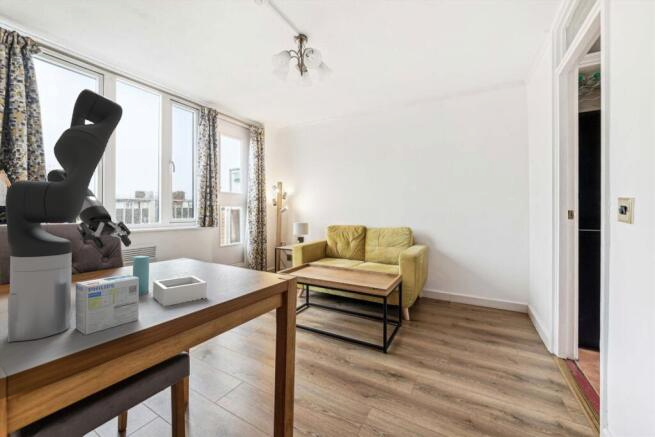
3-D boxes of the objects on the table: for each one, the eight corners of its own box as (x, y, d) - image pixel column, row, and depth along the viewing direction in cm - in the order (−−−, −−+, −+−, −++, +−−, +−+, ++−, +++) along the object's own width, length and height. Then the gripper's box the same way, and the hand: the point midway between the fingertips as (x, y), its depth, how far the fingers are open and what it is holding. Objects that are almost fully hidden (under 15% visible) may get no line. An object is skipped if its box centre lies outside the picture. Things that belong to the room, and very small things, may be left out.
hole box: (163, 306, 77) (164, 289, 77) (153, 296, 85) (153, 281, 85) (206, 297, 85) (206, 282, 85) (192, 289, 94) (193, 275, 94)
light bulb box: (127, 314, 70) (127, 273, 70) (139, 320, 67) (140, 277, 67) (73, 328, 61) (74, 281, 61) (84, 336, 58) (85, 286, 58)
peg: (133, 295, 86) (134, 258, 85) (131, 292, 89) (131, 256, 88) (150, 293, 89) (150, 257, 89) (146, 290, 92) (147, 255, 92)
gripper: (74, 203, 86) (100, 240, 83) (118, 205, 100) (142, 237, 97) (62, 219, 88) (87, 256, 85) (107, 219, 101) (130, 251, 99)
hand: (116, 246), depth 91 cm, fingers open, 8 cm apart
